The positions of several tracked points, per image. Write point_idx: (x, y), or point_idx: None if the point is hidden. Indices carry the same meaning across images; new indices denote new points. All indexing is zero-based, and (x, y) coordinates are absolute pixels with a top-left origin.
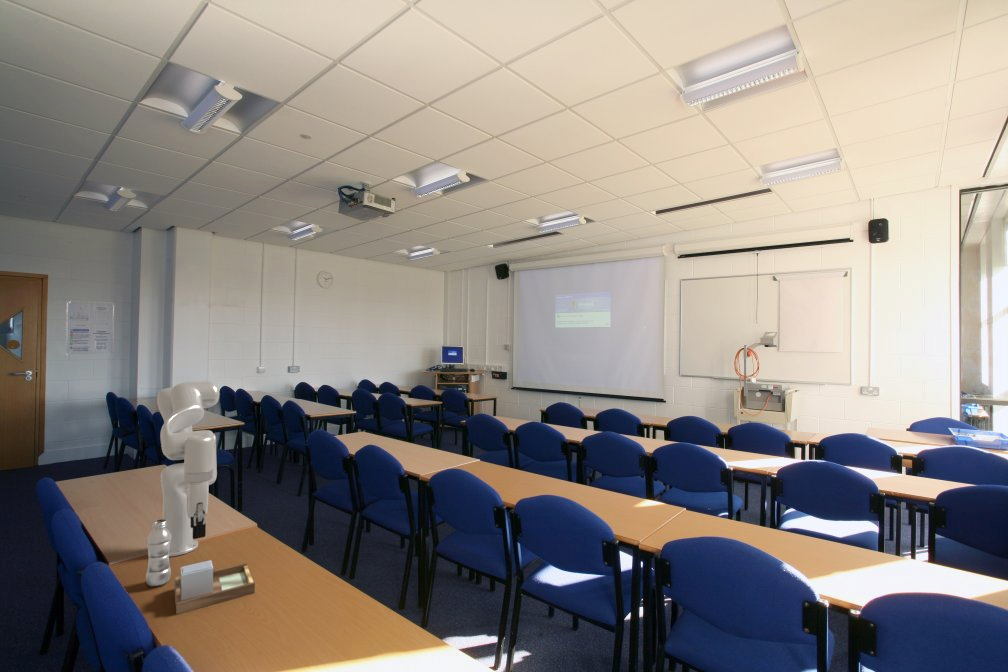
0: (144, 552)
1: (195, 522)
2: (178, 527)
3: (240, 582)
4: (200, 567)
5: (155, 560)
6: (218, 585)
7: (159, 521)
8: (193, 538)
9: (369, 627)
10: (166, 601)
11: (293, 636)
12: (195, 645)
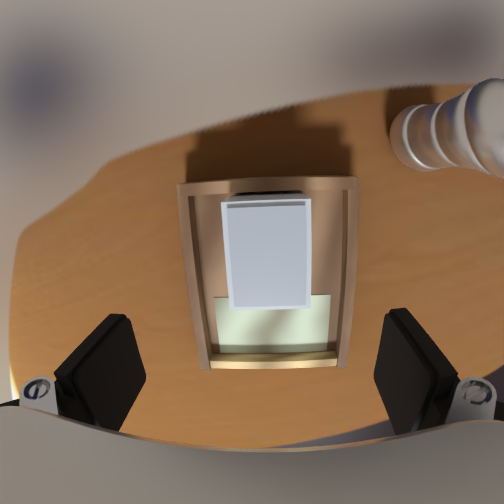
0: None
1: (26, 405)
2: None
3: (264, 340)
4: (253, 270)
5: (431, 117)
6: None
7: None
8: (112, 317)
9: None
10: (283, 154)
11: (48, 359)
12: (54, 228)
